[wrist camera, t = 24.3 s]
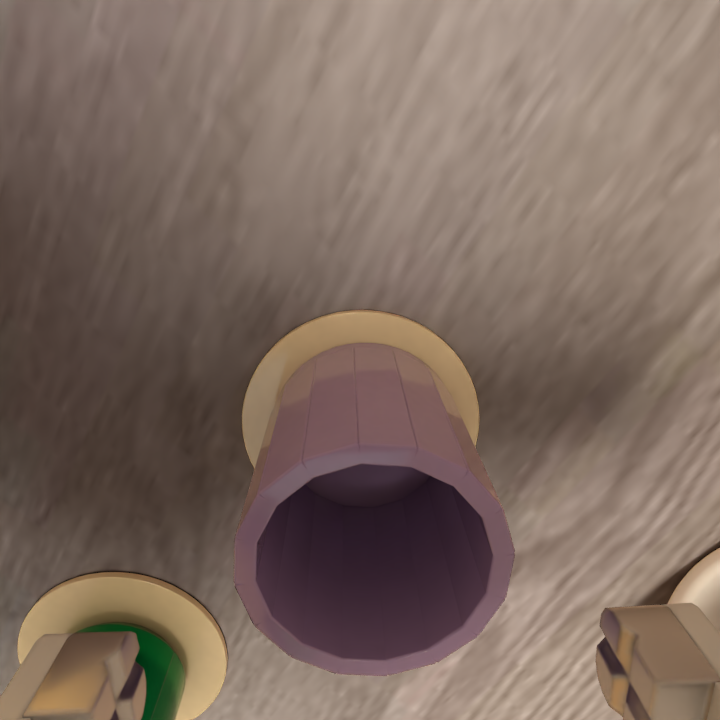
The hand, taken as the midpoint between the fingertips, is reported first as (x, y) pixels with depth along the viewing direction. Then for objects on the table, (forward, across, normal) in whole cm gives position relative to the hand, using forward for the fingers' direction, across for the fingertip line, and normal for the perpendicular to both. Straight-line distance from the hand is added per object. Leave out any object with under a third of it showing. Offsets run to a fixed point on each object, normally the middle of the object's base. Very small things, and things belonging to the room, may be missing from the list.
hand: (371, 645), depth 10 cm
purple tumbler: (+10, 0, +1) cm, 10 cm away
